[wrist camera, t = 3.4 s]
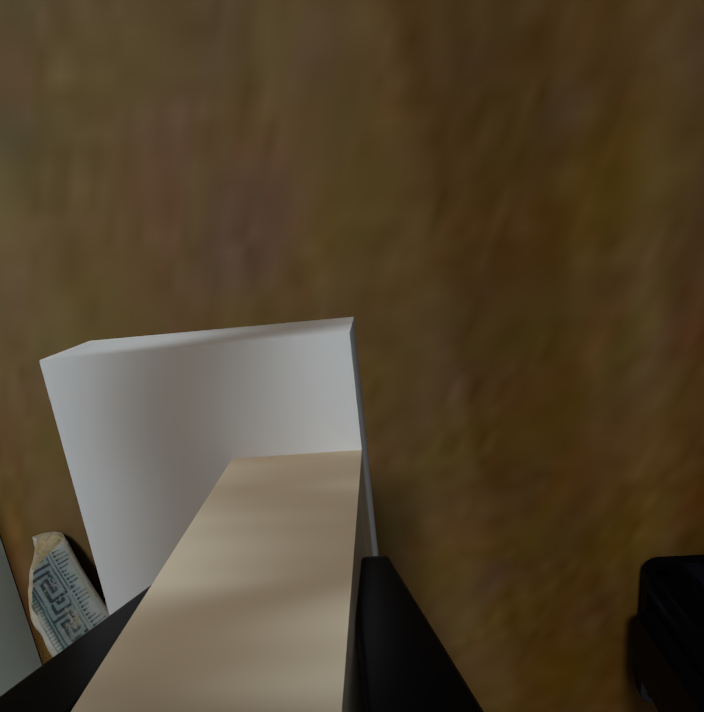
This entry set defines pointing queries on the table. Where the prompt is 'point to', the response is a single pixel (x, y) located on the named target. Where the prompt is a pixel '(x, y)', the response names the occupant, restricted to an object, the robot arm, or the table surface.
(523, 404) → the table surface
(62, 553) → the ceramic fragment
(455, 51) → the table surface
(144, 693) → the plate with square post
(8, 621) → the stop rail
